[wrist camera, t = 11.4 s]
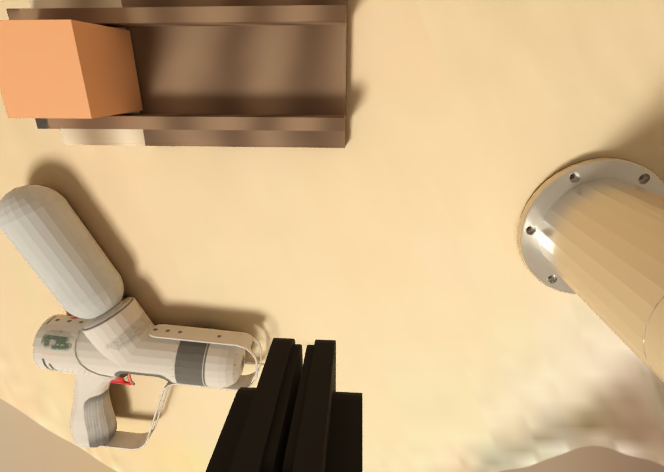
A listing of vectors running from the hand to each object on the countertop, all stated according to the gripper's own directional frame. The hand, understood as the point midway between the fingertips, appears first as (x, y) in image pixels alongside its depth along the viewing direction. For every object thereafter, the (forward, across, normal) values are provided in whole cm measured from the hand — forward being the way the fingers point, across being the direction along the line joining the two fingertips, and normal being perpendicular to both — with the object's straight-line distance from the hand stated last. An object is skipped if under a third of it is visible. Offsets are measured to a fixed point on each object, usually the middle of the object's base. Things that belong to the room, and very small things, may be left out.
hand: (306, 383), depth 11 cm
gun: (+28, +18, +17) cm, 37 cm away
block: (+26, +20, -8) cm, 34 cm away
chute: (+27, +12, -8) cm, 31 cm away
